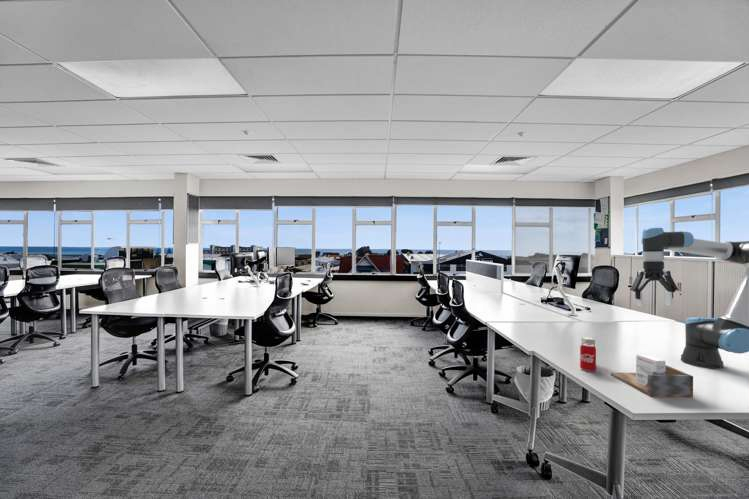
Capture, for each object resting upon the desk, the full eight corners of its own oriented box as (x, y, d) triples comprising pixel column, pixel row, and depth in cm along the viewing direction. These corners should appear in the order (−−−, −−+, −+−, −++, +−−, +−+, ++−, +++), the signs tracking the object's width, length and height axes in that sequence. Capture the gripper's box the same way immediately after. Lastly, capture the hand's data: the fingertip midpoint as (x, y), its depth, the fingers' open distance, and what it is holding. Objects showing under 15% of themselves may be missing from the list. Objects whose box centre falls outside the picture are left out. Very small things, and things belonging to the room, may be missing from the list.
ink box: (666, 390, 129) (666, 360, 129) (656, 391, 128) (656, 361, 128) (645, 381, 137) (645, 353, 137) (635, 382, 136) (635, 354, 136)
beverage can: (577, 367, 157) (577, 342, 157) (589, 367, 157) (589, 342, 157) (586, 372, 151) (586, 346, 151) (599, 372, 151) (599, 346, 151)
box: (595, 366, 159) (595, 339, 159) (585, 365, 160) (585, 339, 160) (590, 362, 164) (590, 337, 164) (581, 362, 165) (581, 336, 165)
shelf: (647, 375, 147) (647, 357, 147) (693, 397, 125) (693, 376, 125) (610, 375, 148) (610, 356, 148) (650, 396, 126) (650, 375, 126)
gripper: (672, 260, 158) (673, 304, 158) (620, 261, 158) (621, 305, 158) (687, 260, 150) (688, 306, 150) (633, 261, 150) (634, 307, 150)
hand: (654, 305), depth 154 cm, fingers open, 13 cm apart
